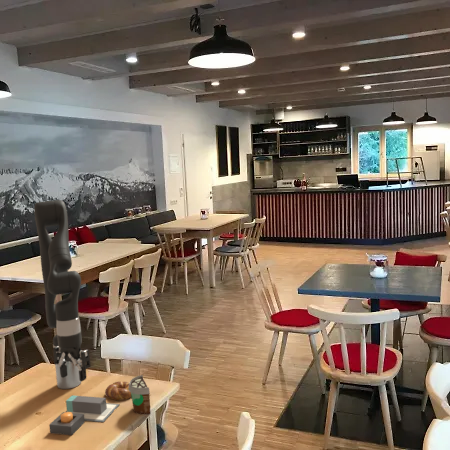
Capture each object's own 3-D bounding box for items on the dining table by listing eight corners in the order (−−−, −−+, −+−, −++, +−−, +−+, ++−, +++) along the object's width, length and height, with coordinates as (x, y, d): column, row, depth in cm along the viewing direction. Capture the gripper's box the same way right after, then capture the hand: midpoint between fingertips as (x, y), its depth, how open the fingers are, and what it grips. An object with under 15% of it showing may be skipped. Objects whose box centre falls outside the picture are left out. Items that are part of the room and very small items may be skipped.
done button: (65, 418, 164) (64, 411, 164) (75, 419, 163) (74, 412, 163) (58, 424, 160) (58, 417, 160) (69, 425, 159) (68, 418, 159)
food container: (127, 403, 176) (125, 377, 175) (144, 400, 178) (142, 374, 177) (133, 419, 165) (131, 391, 164) (151, 415, 167) (149, 387, 166)
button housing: (63, 420, 167) (63, 412, 166) (84, 422, 165) (84, 413, 164) (50, 433, 159) (49, 424, 159) (71, 435, 157) (71, 426, 157)
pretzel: (141, 395, 183) (141, 386, 183) (114, 405, 176) (114, 395, 176) (127, 384, 192) (126, 375, 192) (101, 393, 186) (100, 384, 185)
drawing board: (77, 401, 180) (77, 400, 180) (119, 405, 176) (119, 403, 176) (59, 418, 168) (58, 417, 168) (103, 422, 164) (103, 420, 164)
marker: (106, 408, 172) (105, 397, 172) (101, 414, 169) (100, 403, 168) (73, 405, 176) (72, 395, 175) (66, 411, 172) (65, 400, 172)
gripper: (93, 330, 161) (97, 377, 162) (62, 326, 168) (66, 371, 169) (76, 337, 154) (80, 386, 156) (44, 332, 161) (49, 379, 163)
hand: (73, 378), depth 163 cm, fingers open, 8 cm apart
